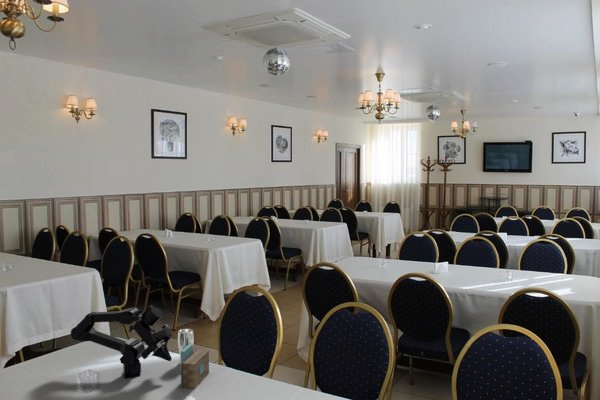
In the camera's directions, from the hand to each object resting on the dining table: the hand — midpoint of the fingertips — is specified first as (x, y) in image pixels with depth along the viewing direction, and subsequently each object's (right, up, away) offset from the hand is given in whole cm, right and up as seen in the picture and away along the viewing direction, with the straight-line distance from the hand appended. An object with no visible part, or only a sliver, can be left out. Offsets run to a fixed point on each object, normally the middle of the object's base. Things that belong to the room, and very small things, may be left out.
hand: (170, 360), depth 217 cm
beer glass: (+3, -7, +17) cm, 18 cm away
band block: (+11, -8, -2) cm, 13 cm away
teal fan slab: (+10, -7, -1) cm, 12 cm away
